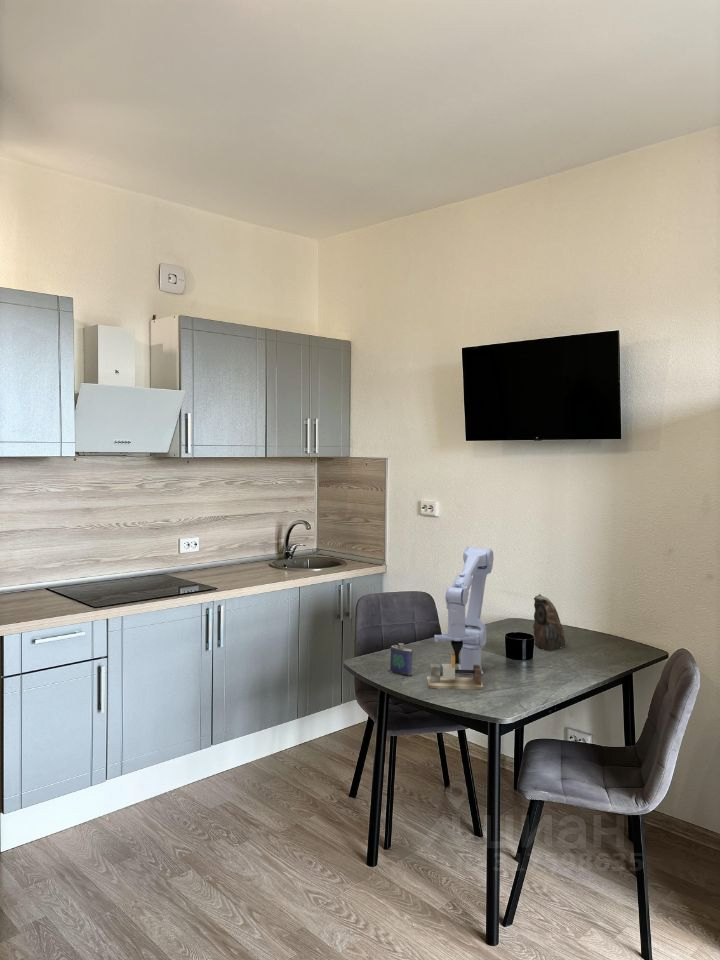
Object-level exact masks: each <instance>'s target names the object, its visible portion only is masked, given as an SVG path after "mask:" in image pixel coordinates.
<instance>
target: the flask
mask: <svg viewBox="0 0 720 960" xmlns="http://www.w3.org/2000/svg"><path fill="white" fill-rule="evenodd" d="M397 644H398V645H397ZM397 644H395V645H391V646H390V663H389V664H390V666H389V667H390V669H389V671H390V672H391V671H392V672H391V673H393V672H395V673H394V674H397V675H401V674H402V676H404V675H407V676H406V677H411V676H413V650H412V649H411V648H404V645H405V644H404V643H403V642H401V643H397ZM410 675H411V676H410Z"/></svg>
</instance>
